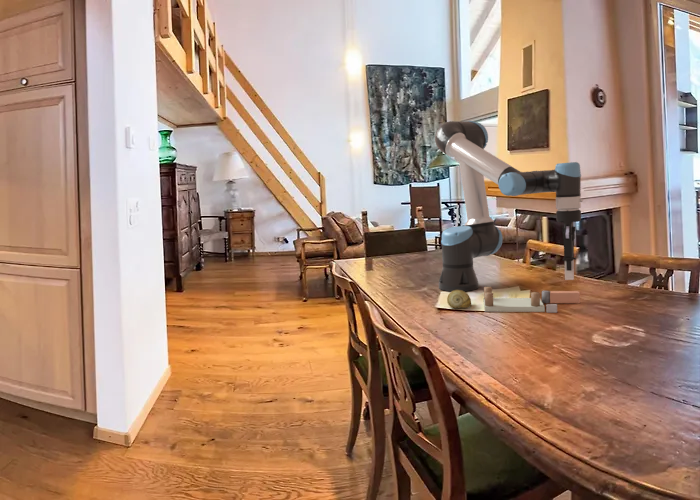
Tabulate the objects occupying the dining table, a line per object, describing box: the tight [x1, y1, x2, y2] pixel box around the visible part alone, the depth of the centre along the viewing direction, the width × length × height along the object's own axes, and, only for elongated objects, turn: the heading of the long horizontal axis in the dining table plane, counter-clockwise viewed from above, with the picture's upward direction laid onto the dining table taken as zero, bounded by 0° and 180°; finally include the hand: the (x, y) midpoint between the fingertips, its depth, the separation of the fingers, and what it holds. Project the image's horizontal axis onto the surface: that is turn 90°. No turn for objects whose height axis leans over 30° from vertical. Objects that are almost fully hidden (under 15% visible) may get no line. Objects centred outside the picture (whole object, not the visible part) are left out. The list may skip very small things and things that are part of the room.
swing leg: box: [541, 290, 581, 304], centre depth 159 cm, size 11×3×4 cm, turn 76°
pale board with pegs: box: [483, 286, 558, 314], centre depth 157 cm, size 22×12×6 cm, turn 76°
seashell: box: [446, 290, 472, 309], centre depth 162 cm, size 10×7×8 cm
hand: (569, 279), depth 164 cm, fingers closed
